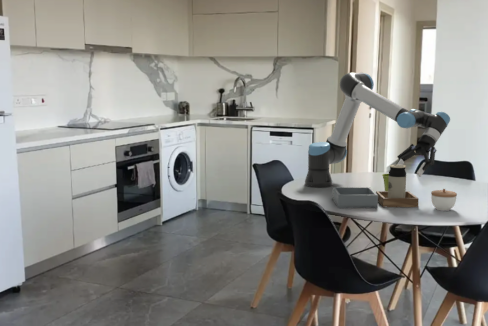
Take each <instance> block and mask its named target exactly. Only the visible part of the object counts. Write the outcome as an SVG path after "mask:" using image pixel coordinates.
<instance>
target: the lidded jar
mask: <svg viewBox="0 0 488 326" xmlns="http://www.w3.org/2000/svg"><path fill="white" fill-rule="evenodd" d="M430 195H431V197H430V198H431V202H432V205H433V207H434V208H435V209H436V210H437V211H442V212H443V211H444V212H448V211H451V209H453V208H454V206H455V205H456V202H457V195H458V194H457V192H455V191H453V190H446V188H442V189H439V190H438V189H436V190H432V191H431V194H430Z"/></svg>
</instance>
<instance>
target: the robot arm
mask: <svg viewBox="0 0 488 326" xmlns="http://www.w3.org/2000/svg"><path fill="white" fill-rule="evenodd" d="M339 88H340V90H341V92H342V93H343V94H344V96H345V99H344V101H343V103H342V107H341V109H340V111H339V115H338V117H337V119H336V121H335V122H336V123H335V125H334V127H333V130H332V133H331V135H330V136H327V139H326V141H318V142H317V141H316V142H312V143H311V144H309V146H308V149H307V150H308V151H307V153H308V160H307V162H308V165H307V166H308V167H307V168H308V169H307V174H306V176H305V179H304V185H305V186H306V187H311V188H328V187H332V186H333V180H332V177H331V172H330V165H332V164H338V163H340V162H342V161H344V160H345V158H346V157H347V155H348V150H347V146H348V143H347V138H348V136H349V133H350V131H351V128H352V125H353V123H354V120H355V118H356V115H357V112H358V110H359V107H360V106H361V105H360V104H361V103H364V104H365V105H367V106H369V107H371V108H372V109H374V110H375V111H377V112H379V113H380V114H382V115H385V116H386V117H388V118H389V119H391V120H393V121H395V122H396V123H397V125H398V126H399V127H400V128H401V129H402V128H403V129H410V128H416V127H420V128H423V129H425V130H424V132H423V133H422V135H421V136H420V138H419V139H418V140H417V144H416V145H415V144H413V143H411V144H410V145H409V146H408V147H407V148H406V149H405V150H403V151H402V152H401V153H400V154H399V155H397V157H396V158H398V161H397V162H396V165H405V161H407V160H409V159H411V158H412V157H414V156H423V157H424V162H423V163H422V164H421V165H420V167H419V169H418V170H417V172H416V174H417V176H418V177H422V175H423V174H424V172H425V171H427V169H428V168H429V167H430V166H434V165H435V159H436V153H437V151H438V150H437V148H436V147H435V145H436V144H437V142H438V141H439V140H440V138H441V136H442V135H443V133H444V132H445V131H446V128H447V127H448V126H449V123H450V122H451V117H450V116H449V114H448V113H446V112H445V111H437V112H436V113H435V114H432V113H428V112H426V111H423V110H420V109H415V108H411V109H410V110H408V109H406V108H405V107H403V106H402V105H400V104H398V103H396V102H394V101H392V100H391V99H389V98H387V97H385V96H384V95H382V94H380V93H378V92H377V91H375V90H374V80H373V78H372V76H371V75H369V74H368V73H364V72H348V73H345V74H344V75H343V76H342V77H341V79H340V81H339Z"/></svg>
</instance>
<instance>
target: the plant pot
mask: <svg viewBox="0 0 488 326" xmlns="http://www.w3.org/2000/svg"><path fill="white" fill-rule="evenodd" d="M381 176H382V178H383V186H384V191H388V179H389V173H383V174H382V175H381Z"/></svg>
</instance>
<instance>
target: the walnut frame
mask: <svg viewBox="0 0 488 326" xmlns="http://www.w3.org/2000/svg"><path fill="white" fill-rule="evenodd" d="M375 193H376V194H377V195H378V204H380V206H381V207H382V208H419V200H420V199H419V197H417V196H416V195H415V194H413V193H411V192H410V191H409V190H408V191H407V190H406V192H405V198H388V191H385V190H384V191H383V190H380V191H378V190H377V191H375Z"/></svg>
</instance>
